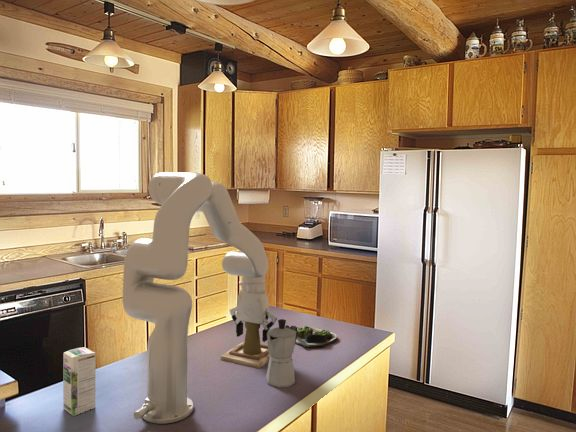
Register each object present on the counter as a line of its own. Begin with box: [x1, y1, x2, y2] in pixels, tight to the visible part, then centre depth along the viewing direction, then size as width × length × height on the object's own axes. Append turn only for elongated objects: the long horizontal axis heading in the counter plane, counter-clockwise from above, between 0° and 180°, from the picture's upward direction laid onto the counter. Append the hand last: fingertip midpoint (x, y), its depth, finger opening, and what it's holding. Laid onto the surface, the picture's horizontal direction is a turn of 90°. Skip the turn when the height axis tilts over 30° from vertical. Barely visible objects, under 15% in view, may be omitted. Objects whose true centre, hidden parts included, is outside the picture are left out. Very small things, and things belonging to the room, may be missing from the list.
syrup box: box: [62, 347, 96, 417], centre depth 112 cm, size 6×6×14 cm
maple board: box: [220, 341, 271, 369], centre depth 149 cm, size 16×14×2 cm
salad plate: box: [295, 325, 338, 349], centre depth 166 cm, size 19×18×5 cm
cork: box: [243, 322, 262, 355], centre depth 148 cm, size 6×6×11 cm
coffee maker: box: [265, 319, 298, 389], centre depth 131 cm, size 15×9×18 cm, turn 149°
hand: (252, 337), depth 148 cm, fingers open, 9 cm apart
